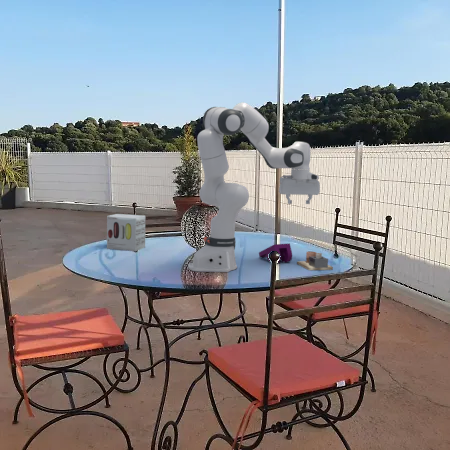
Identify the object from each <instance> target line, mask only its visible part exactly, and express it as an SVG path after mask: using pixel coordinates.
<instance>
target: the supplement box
mask: <svg viewBox="0 0 450 450" xmlns="http://www.w3.org/2000/svg"><path fill="white" fill-rule="evenodd" d="M106 217H107V218H106V250H108V249H109V250H117V251H129V252H138V251H140V250H142V249H144V248H146V215H144V214H142V215H141V214H140V215H137V214H127V213H126V214H125V213H124V214H123V213H115V214H114V213H113V214H110V215H107V216H106Z"/></svg>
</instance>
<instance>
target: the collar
mask: <svg viewBox="0 0 450 450" xmlns="http://www.w3.org/2000/svg"><path fill="white" fill-rule="evenodd" d="M309 265H310V266H312V267H314V268H326V267H328V265H329V258H327V257H324V256H322V259H316V256H309Z"/></svg>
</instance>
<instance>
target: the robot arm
mask: <svg viewBox="0 0 450 450" xmlns="http://www.w3.org/2000/svg"><path fill="white" fill-rule="evenodd" d="M269 128H270V127H269V122H268V121H267V120H266V118H265V117H264V116H263V115H262V113H260V112H259V111H258V110H257V109H256V108H254V107H253V106H251V105H250V104H248V103H246V102H244V101H243V102H242V101H241V102H239V103H236V104H235V105H234V106H233V108H228V107H225V106H224V107H223V106H213V107H210V108H207V109H206V110H205V111H204V113H203V117H202V129H203V130H201V131H200V132H199V133H198V135H197V138H196V139H197V148H198V153H199V157H200V161H201V165H202V168H203V173H204V182H203V184H202V185H201V187H200V189H199V198H200V200H201V202H203V203H204V204H206V205H209V206H211V207H212V206H214V207H218V208H219V209H218V212H217V215H215V216H213V217H212V219H211V220H210V235H209V236H204V237H203V241H204V242H205V245H204V246H203V247H201V248H200V249H198V250H197V251H196V252H194V254H193V258H192V262H190V263H188V264H187V268H188V270H190V271H191V272H192V271H193V272H199V273H200V272H208V273H211V272H213V273H214V272H215V273H228V272H231V271H234V270H236V269H238V266H237V262H236V255H235V254H236V253H235V250H236V245H237V244H236V241H237V240H236V236H235V234H236V232H235V231H236V221H237V217H238V215H239V212H240V211H241V210H242V209H243V208H244V207H245V206H246V205H247V203H248V201H249V198H250V194H249V190H248V188H247V187H246V186H245V185H243V184H240V183H236V182H235V183H234V182H225V176H224V175H226V174H227V173H228V171H229V168H230V167H229V161H228V157H227V152H226V149H225V147H224V146H225V145H224V142H223V141H224V135H225V136H232V135H236V134H237V133H238V132H239V131H241V132H242V133H243V134H244V135H245V136H246V137H247V139H248V140H249V142H250V144H251V145H252V146H253V147H254V148H255V149H256V150H257V152H258V153H259V154H260V155H261V156H262V158H263V159H264V162H265V164H266V165H267V167H269V169H273V170H275V169H290V170H291V171H290V172H291V173H290V175H285V174H284V175H282V176H280V178H279V188H278V193H279V195H285V198H286V199H287V204H288V205H292V204H293V200H292V199H291V198H290V197H291V195H292V196H293V195H296V196H297V195H299V196H301V195H303V196H306V195H307V197H308V198H307V199H306V200H305V204H306V205H310V203H311V200H312V198H313V196H318V195H319V194H320V193H321V192H320V191H321V184H320V181H319V179H320V176H319V175H318V174H315V173H313V172H311V171H310V170H311V168H310V162H311V146H310V144H309V143H308V142H306V141H298V140H297V141H295V142H294V143H292V145H290V146H288V147H287V146H286V147H279V148H278V147H273V146H272V145H271V144H270V143H269V141H268V140H267V139H266V137H267V134H268V133H269Z"/></svg>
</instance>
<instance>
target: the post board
mask: <svg viewBox="0 0 450 450" xmlns="http://www.w3.org/2000/svg"><path fill="white" fill-rule="evenodd" d="M322 254H323V253H321V252H316V251H311V250H310V251H306V255H305V256H306V257H305V260H302V261H301V260H299V261H297V262H296V265H298V266H300V267H301V268H304V269H306V270H308V271H331V270H332V271H333V268H334V267H333V266H331V265H329V264H328V267H326V268H314V267H312V266H310V265H309V256H316V259H322Z"/></svg>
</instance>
